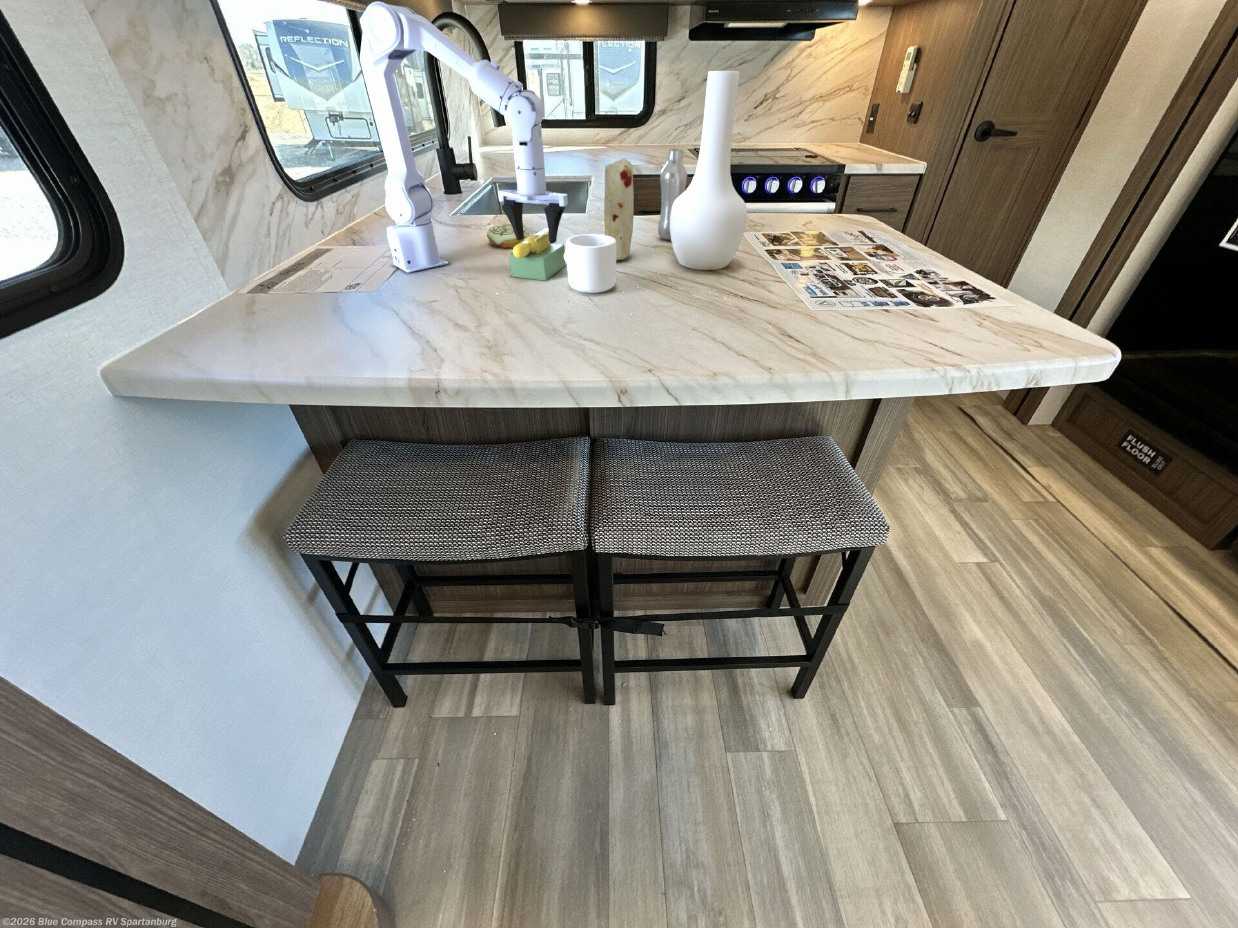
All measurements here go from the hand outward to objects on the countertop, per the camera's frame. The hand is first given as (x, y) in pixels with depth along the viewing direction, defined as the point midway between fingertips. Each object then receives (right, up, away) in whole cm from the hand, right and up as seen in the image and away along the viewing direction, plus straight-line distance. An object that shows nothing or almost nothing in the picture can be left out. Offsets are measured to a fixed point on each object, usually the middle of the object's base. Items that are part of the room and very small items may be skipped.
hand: (536, 241), depth 107 cm
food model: (+18, +1, +12) cm, 21 cm away
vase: (+37, -1, +9) cm, 38 cm away
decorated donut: (-10, +8, +21) cm, 25 cm away
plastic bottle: (+31, +11, +25) cm, 42 cm away
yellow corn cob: (0, -1, +1) cm, 2 cm away
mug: (+12, -11, -3) cm, 17 cm away
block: (0, -5, +4) cm, 6 cm away
